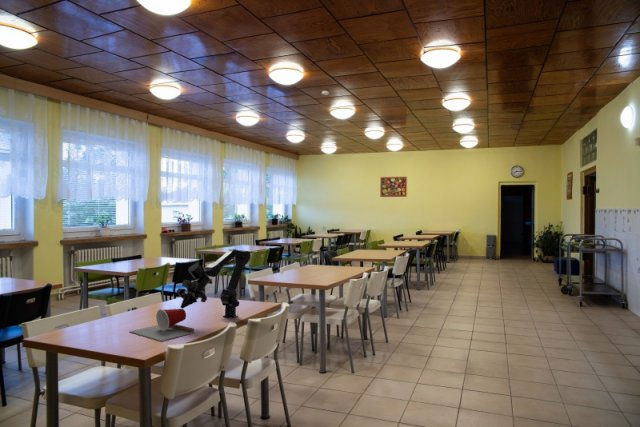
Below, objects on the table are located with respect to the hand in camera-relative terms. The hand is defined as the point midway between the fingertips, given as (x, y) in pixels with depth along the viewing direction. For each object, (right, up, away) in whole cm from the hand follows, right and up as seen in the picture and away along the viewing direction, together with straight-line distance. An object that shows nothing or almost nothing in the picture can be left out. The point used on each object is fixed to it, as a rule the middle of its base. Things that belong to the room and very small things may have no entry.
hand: (181, 307), depth 225 cm
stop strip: (-2, -10, -2) cm, 11 cm away
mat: (-7, -10, -9) cm, 16 cm away
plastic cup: (+1, -4, +2) cm, 4 cm away
